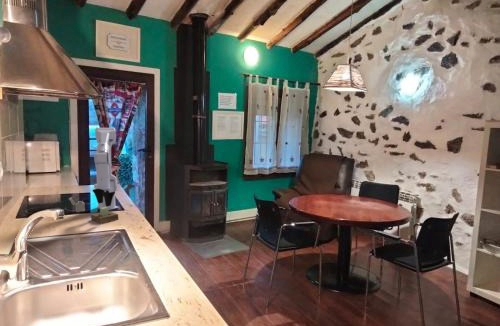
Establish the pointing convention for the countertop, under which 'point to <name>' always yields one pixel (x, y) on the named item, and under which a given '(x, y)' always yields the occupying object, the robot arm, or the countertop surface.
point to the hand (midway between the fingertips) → (104, 204)
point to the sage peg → (103, 211)
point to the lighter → (78, 205)
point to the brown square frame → (104, 217)
